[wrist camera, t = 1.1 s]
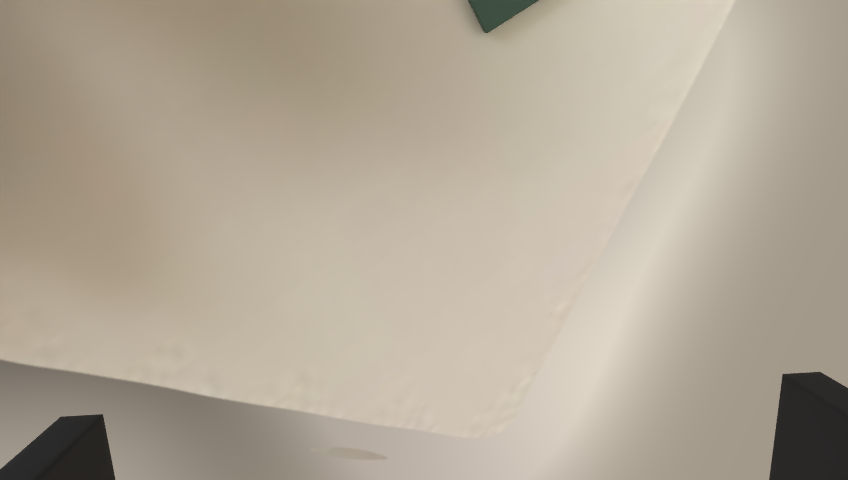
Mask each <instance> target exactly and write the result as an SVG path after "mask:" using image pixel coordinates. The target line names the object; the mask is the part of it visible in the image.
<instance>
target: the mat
mask: <svg viewBox="0 0 848 480" xmlns="http://www.w3.org/2000/svg"><path fill="white" fill-rule="evenodd" d="M537 1H538V0H469V2H470V4H471V7H472V9H473V11H474V13H475V15H476V17H477V19H478V21H479V23H480V25H481V27H482V29H483V31H484V32H485V33H488V32H490V31H491V30H493V29H494V28H496V27H497V26H499V25H501V24H502V23H504V22H505V21H507V20H508V19H510V18H512V17H513V16H515V15H516V14H518V13H519V12H521V11H523V10H524V9H526V8H527V7H529V6H530V5H532V4H534V3H535V2H537Z"/></svg>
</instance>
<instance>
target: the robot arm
mask: <svg viewBox="0 0 848 480" xmlns="http://www.w3.org/2000/svg"><path fill="white" fill-rule="evenodd" d="M0 480H115V476H114V470H113V465H112V460H111V455H110V449H109V444H108V439H107V434H106V429H105V423H104V418H103V415H84V416H67V417H60V418H59V419H58V420H57V421H56V422H54V423H53V424H52V425H51V426H50V427H49V428H47V429H46V430H45V431H44V432H43V433H42V434H40V436H38V437H37V438H36V439H35V440H34V441H32V442H31V443H30V444H29V445H28V446H27V447H26V448H24V449H23V450H22V451H21V452H20V453H19V454H18V455H16V456H15V457H14V458H13V459H12V460H11V461H9V462H8V463H7V464H6V465H5V466H4V467H3V468H1V469H0ZM769 480H848V388H847V387H845V386H843V385H841V384H840V383H838V382H836V381H835V380H833V379H831V378H830V377H828V376H826V375H824V374H823V373H821V372H813V373H796V374H795V373H794V374H783V376H782V384H781V392H780V400H779V408H778V416H777V423H776V432H775V440H774V448H773V455H772V463H771V471H770V478H769Z"/></svg>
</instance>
